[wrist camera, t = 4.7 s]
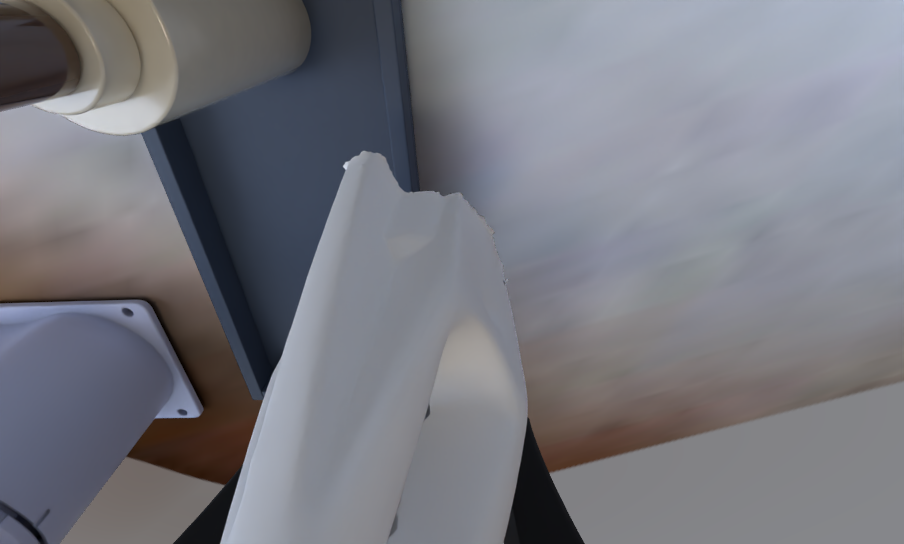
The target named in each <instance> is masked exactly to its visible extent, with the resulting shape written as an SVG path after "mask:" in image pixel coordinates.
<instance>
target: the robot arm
mask: <svg viewBox="0 0 904 544" xmlns="http://www.w3.org/2000/svg"><path fill="white" fill-rule="evenodd" d="M131 310H132V311H131ZM202 412H203V406H202V404H201V402H200V401H199V399H198V397H197V395H196V393H195V391H194V389H193V387H192V385H191V383H190V381H189V379H188V377H187V375H186V373H185V371H184V369H183V367H182V365H181V363H180V361H179V359H178V357H177V355H176V353H175V351H174V350H173V348H172V346H171V344H170V342H169V340H168V338H167V336H166V334H165V332H164V330H163V328H162V326H161V324H160V322H159V320H158V318H157V316H156V314H155V312H154V310H153V308H152V307H151V305H150V304H149V303H147V302H146V301H143V300H138V299H137V300H102V301H67V302H32V303H0V544H60V543H61V541H62V540H63V539H64V537H65V536H66V535H67V534H68V532H69V531H70V530H71V528H72V527H73V526H74V524H75V523H76V522H77V520H78V519H79V518H80V516H81V515H82V514H83V512H84V511H85V510H86V508H87V507H88V506H89V504H90V503H91V502H92V500H93V499H94V498H95V496H96V495H97V494H98V493H99V491H100V490H101V489H102V487H103V486H104V485H105V483H106V482H107V481H108V479H109V478H110V477H111V475H112V474H113V473H114V471H115V470H116V469H117V468H118V466H119V465H120V464H121V462H122V461H123V460H124V458H125V457H126V456H127V454H128V453H129V452H130V450H131V449H132V448H133V446H134V445H135V444H136V442H137V441H138V440H139V438H140V437H141V436H142V434H143V433H144V432H145V431H146V429H147V428H148V427H149V425H150V424H151V423H152V421H153V420H154V419H155V418H195V417H199V416H200V415H201V413H202ZM242 467H243V465H242V466H241V468H240V469H239V470H238V471H237V472H236V474H235V475H234V476H233V477H232V478H231V479H230V481H229V482H228V483H227V484H226V485H225V486H224V488H223V489H222V490H221V491H220V492H219V493H218V495H217V496H216V497H215V498H214V499H213V500H212V502H211V503H210V504H209V505H208V506H207V507H206V508H205V510H204V511H203V512H202V513H201V514H200V515H199V516H198V517H197V519H196V520H195V521H194V522H193V523H192V524H191V525H190V526H189V527H188V528H187V529H186V530H185V531H184V532H183V533H182V535H181V536H180V537H179V538H178V539H177V540H176V541H175V542H174V543H173V544H220V542H221V539H222V535H223V532H224V529H225V525H226V521H227V517H228V514H229V511H230V507H231V504H232V500H233V497H234V494H235V490H236V487H237V483H238V480H239V477H240V473H241V470H242ZM504 544H585V543H584V542H583V540H582V538H581V536H580V535H579V533H578V531H577V529H576V527H575V525H574V523H573V521H572V519H571V518H570V516H569V514H568V512H567V510H566V508H565V505H564V503H563V501H562V499H561V497H560V495H559V493H558V492H557V489H556V487H555V485H554V483H553V481H552V479H551V476H550V474H549V472H548V470H547V467H546V465H545V463H544V460H543V458H542V455H541V453H540V450H539V448H538V445H537V443H536V440H535V437H534V434H533V431H532V428H531V425H530V421H529V418H528V417H527V426H526V433H525V439H524V445H523V451H522V457H521V463H520V468H519V473H518V478H517V484H516V489H515V494H514V499H513V503H512V507H511V512H510V517H509V522H508V526H507V530H506V534H505V538H504Z"/></svg>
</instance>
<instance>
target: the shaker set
mask: <svg viewBox="0 0 904 544" xmlns="http://www.w3.org/2000/svg"><path fill="white" fill-rule="evenodd" d="M343 167H344V168H345V170H346V171H345V174H344V176H343V179H342V181H341V184H340V186H339V189H338V192H337V195H336V198H335V200H334V203H333V205H332V208H331V211H330V214H329V216H328V219H327V222H326V225H325V228H324V231H323V234H322V236H321V239H320V242H319V244H318V247H317V250H316V253H315V256H314V259H313V262H312V265H311V267H310V270H309V273H308V276H307V279H306V282H305V286H304V289H303V292H302V295H301V298H300V301H299V305H298V308H297V311H296V314H295V317H294V320H293V324H292V326H291V329H290V332H289V335H288V338H287V341H286V344H285V347H284V351H283V354H282V357H281V359H280V361H279V362H278V364H277V366H276V368H275V370H274V372H273V374H272V377H271V379H270V382H269V384H268V387H267V390H266V393H265V396H264V399H263V402H262V405H261V409H260V412H259V415H258V418H257V421H256V424H255V427H254V431H253V434H252V437H251V440H250V443H249V447H248V450H247V454H246V458H245V461H244V464H243V467H242V470H241V473H240V477H239V480H238V483H237V487H236V490H235V494H234V497H233V500H232V504H231V507H230V511H229V514H228V517H227V521H226V525H225V529H224V532H223V535H222V539H221V542H220V544H503V542H504V538H505V534H506V530H507V526H508V522H509V517H510V512H511V507H512V503H513V499H514V494H515V489H516V484H517V478H518V473H519V468H520V463H521V457H522V451H523V445H524V439H525V433H526V426H527V412H528V402H527V391H526V384H525V378H524V373H523V368H522V362H521V357H520V350H519V345H518V340H517V334H516V329H515V324H514V319H513V314H512V309H511V304H510V300H509V296H508V292H507V287H506V282H507V281H508V280H509V279H506V280H505V278H504V275H503V267H504V265H503V264H502V262H501V260H500V259H499V256H498V252H497V250H496V247H495V244H494V238H493V237H492V234H494V233H495V232H494V231H493V229H492V228H490V227H489V226H488V225H487V224H486V220H485V218H484V217H483V216H480V215H479V216H478V214H477V213H478V212H477V211H476V210H475V208H474V207H473V208H472V206H471V205H469V202H468V201H467V200H466V199H463V194H462V193H460V192H459V193H453V194H451V193H450V194H449V195H447V196H442V195H440V194H439V192H437V193H436V192H434V191H423V192H421V191H420V192H414V194H413V192H410V193H407V192H404V191H403V190H402V189H401V188H400V187H399V185H398V182H397V181H396V179H395V178H394V176H393V175H392V171H391V170H390V169H389V165H388V163H387V161H386V158H385V157H384V156H382V155H381V154H379V153H372V152H367V151H362V152H361V153H360V155H359V156H355V157H353V158H352V159H351V161H348V162H345V164H344V166H343ZM471 208H472V209H471Z"/></svg>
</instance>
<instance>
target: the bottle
mask: <svg viewBox="0 0 904 544" xmlns="http://www.w3.org/2000/svg"><path fill="white" fill-rule="evenodd" d="M310 44H311V25H310V20H309V16H308V13H307V10H306V8H305V6H304V4H303V2H302V0H0V112H2V111H7V110H11V109H15V108H19V107H24V106H28V105H32V106H34V107H37V108H39V109H41V110H44V111H47V112H50V113H54V114H59V115H61V116H63V117H64V118H66V119H68V120H69V121H71V122H73V123H75V124H77V125H79V126H82V127H84V128H87V129H89V130H92V131H96V132H99V133H103V134H109V135H117V136H128V135H136V134H139V133H143V132H146V131H148V130H151V129H153V128H156V127H158V126H161V125H164V124H166V123H169V122H171V121H174V120H176V119H179V118H181V117H184V116H186V115H189V114H191V113H194V112H196V111H199V110H201V109H204V108H206V107H209V106H211V105H214V104H216V103H219V102H221V101H224V100H226V99H229V98H231V97H234V96H236V95H239V94H241V93H244V92H246V91H249V90H251V89H254V88H256V87H259V86H261V85H264V84H266V83H269V82H271V81H274V80H276V79H279V78H281V77H284V76H286V75H289V74H291V73H292V72H294V71H295V70H297V69H298V68H299V67H300V66H301V65H302V63H303V62H304V60H305V59H306V57H307V54H308V52H309V48H310Z"/></svg>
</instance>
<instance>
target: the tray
mask: <svg viewBox="0 0 904 544" xmlns="http://www.w3.org/2000/svg"><path fill="white" fill-rule="evenodd" d="M302 2H303V4H304V6H305V8H306V10H307V13H308V16H309V20H310V25H311V44H310V48H309V52H308V54H307V57H306V59H305V60H304V62H303V63H302V65H301V66H300V67H299V68H298V69H297V70H295V71H294V72H292V73H291V74H289V75H286V76H284V77H281V78H279V79H276V80H274V81H271V82H269V83H266V84H264V85H261V86H259V87H256V88H254V89H251V90H249V91H246V92H244V93H241V94H239V95H236V96H234V97H231V98H229V99H226V100H224V101H221V102H219V103H216V104H214V105H211V106H209V107H206V108H204V109H201V110H199V111H196V112H194V113H191V114H189V115H186V116H184V117H181V118H179V119H176V120H174V121H171V122H169V123H166V124H164V125H161V126H158V127H156V128H153V129H151V130H148V131H146V132H143V133H141V134H142V136H143V139H144V141H145V143H146V146H147V148H148V151H149V153H150V155H151V158H152V160H153V162H154V165H155V167H156V170H157V172H158V174H159V177H160V179H161V182H162V184H163V186H164V189H165V191H166V194H167V196H168V198H169V201H170V203H171V205H172V208H173V210H174V213H175V215H176V217H177V220H178V222H179V225H180V227H181V229H182V232H183V234H184V236H185V239H186V241H187V244H188V246H189V248H190V251H191V253H192V256H193V258H194V260H195V263H196V265H197V268H198V270H199V272H200V275H201V277H202V279H203V282H204V284H205V287H206V289H207V291H208V294H209V296H210V299H211V301H212V303H213V306H214V308H215V311H216V313H217V315H218V318H219V320H220V322H221V325H222V327H223V330H224V332H225V334H226V337H227V339H228V342H229V344H230V346H231V349H232V351H233V354H234V356H235V358H236V361H237V363H238V365H239V368H240V370H241V373H242V375H243V377H244V380H245V382H246V385H247V387H248V389H249V392H250V394H251V396H252V399H253V400H263V399H264V396H265V393H266V390H267V387H268V384H269V382H270V379H271V377H272V374H273V372H274V370H275V368H276V366H277V364H278V362H279V361H280V359H281V357H282V354H283V351H284V347H285V344H286V341H287V338H288V335H289V332H290V329H291V326H292V324H293V320H294V317H295V314H296V311H297V308H298V305H299V301H300V298H301V295H302V292H303V289H304V286H305V282H306V279H307V276H308V273H309V270H310V267H311V265H312V262H313V259H314V256H315V253H316V250H317V247H318V244H319V242H320V239H321V236H322V234H323V231H324V228H325V225H326V222H327V219H328V216H329V214H330V211H331V208H332V205H333V203H334V200H335V198H336V195H337V192H338V189H339V186H340V184H341V181H342V179H343V176H344V174H345V171H346V170H345V168H344V167H343V166H344V164H345V162H348V161H351V159H352V158H353V157H355V156H359V155H360V153H361V152H362V151H367V152H372V153H379V154H381V155H382V156H384V157H385V158H386V161H387V163H388V165H389V169H390V170H391V171H392V175H393V176H394V178H395V179H396V181H397V182H398V185H399V187H400V188H401V189H402V190H403V191H404V192H407V193H410V192H413V194H414V192H420V187H419V177H418V167H417V157H416V147H415V138H414V128H413V118H412V108H411V98H410V88H409V78H408V68H407V58H406V48H405V38H404V28H403V19H402V9H401V0H302Z"/></svg>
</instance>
